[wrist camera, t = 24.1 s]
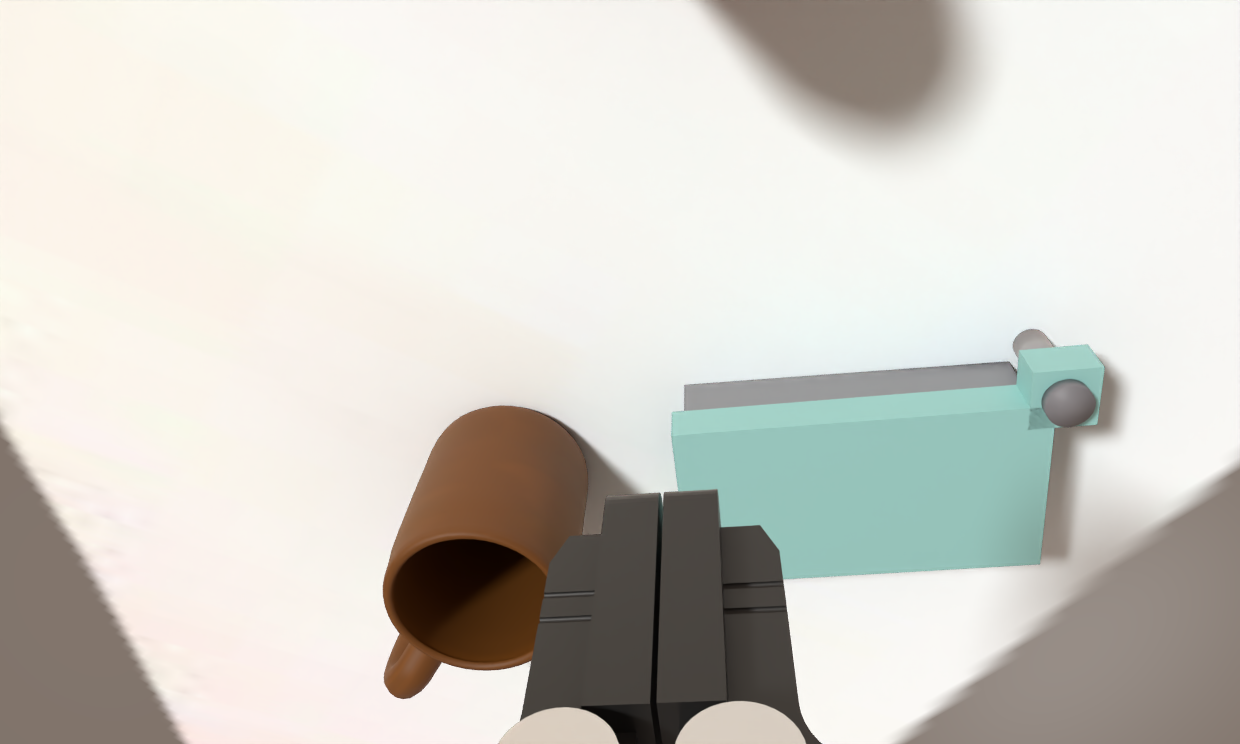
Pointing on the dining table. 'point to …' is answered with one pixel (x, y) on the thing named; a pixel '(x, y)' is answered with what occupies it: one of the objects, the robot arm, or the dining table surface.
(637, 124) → the dining table surface
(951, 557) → the cover
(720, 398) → the grey rail
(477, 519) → the mug
